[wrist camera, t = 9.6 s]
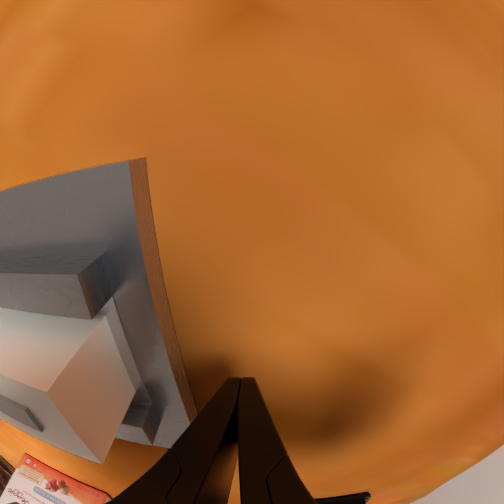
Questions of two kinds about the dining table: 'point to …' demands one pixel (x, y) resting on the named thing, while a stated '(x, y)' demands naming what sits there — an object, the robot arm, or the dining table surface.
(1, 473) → the jar
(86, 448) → the white rectangular block
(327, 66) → the dining table surface
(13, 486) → the cracker box
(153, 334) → the mount plate
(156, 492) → the robot arm
